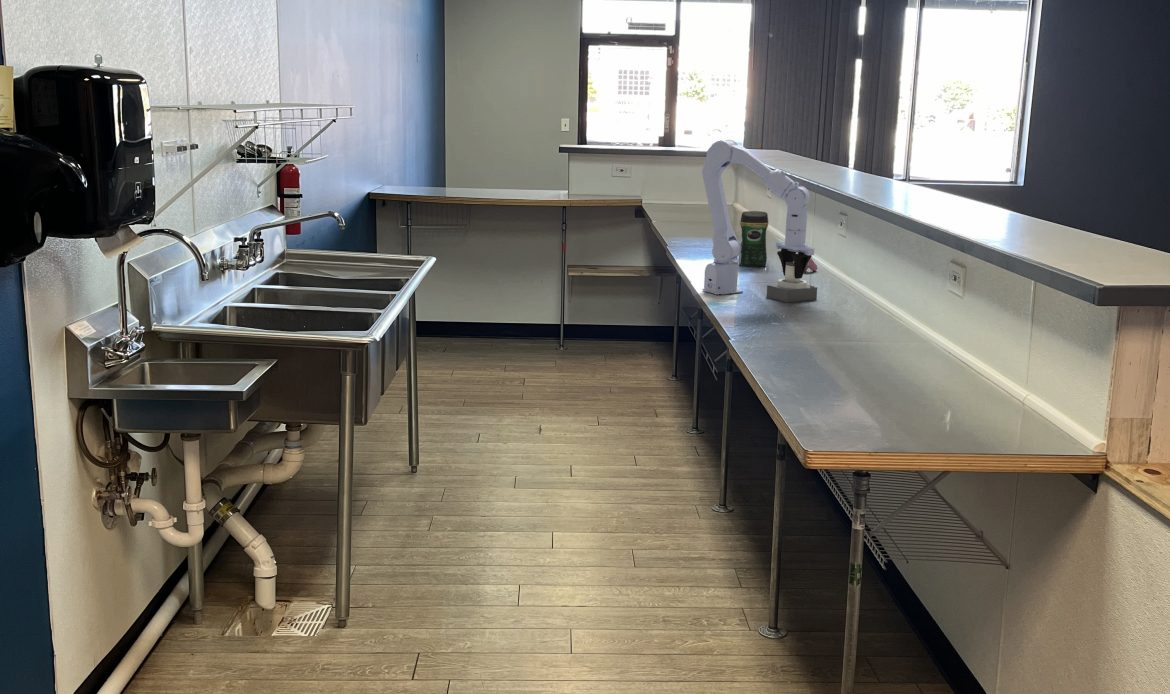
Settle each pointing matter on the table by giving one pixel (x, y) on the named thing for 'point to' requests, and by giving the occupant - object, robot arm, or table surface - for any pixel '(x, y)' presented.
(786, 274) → the white lens
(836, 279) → the table surface
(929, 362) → the table surface
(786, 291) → the grey square base
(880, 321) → the table surface
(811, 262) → the pink animal figurine
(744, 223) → the coffee jar
